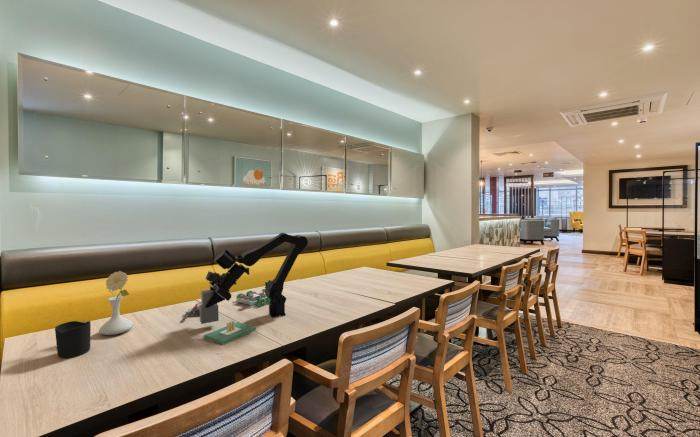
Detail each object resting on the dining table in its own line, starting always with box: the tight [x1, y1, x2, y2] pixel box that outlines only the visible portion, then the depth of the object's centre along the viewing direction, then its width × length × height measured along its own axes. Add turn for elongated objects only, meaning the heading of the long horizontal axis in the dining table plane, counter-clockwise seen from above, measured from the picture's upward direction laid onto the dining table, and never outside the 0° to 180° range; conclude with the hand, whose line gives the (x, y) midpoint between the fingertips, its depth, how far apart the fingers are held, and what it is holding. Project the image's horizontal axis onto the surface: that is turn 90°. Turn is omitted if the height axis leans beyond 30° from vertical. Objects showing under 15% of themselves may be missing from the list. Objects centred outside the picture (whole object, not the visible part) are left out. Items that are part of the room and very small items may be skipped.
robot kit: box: [235, 280, 271, 307], centre depth 176 cm, size 19×25×9 cm
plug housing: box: [199, 289, 219, 325], centre depth 137 cm, size 7×4×12 cm
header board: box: [203, 320, 257, 345], centre depth 131 cm, size 16×11×5 cm
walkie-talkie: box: [182, 302, 202, 321], centre depth 154 cm, size 9×4×20 cm
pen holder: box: [54, 320, 92, 359], centre depth 114 cm, size 9×9×10 cm
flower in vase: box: [98, 270, 134, 336], centre depth 132 cm, size 13×11×25 cm
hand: (205, 305), depth 137 cm, fingers closed on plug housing, 4 cm apart
